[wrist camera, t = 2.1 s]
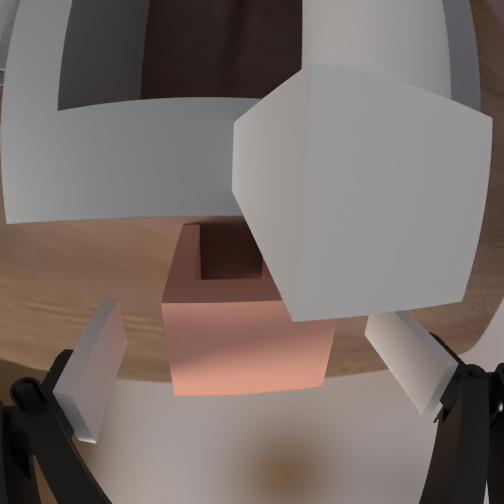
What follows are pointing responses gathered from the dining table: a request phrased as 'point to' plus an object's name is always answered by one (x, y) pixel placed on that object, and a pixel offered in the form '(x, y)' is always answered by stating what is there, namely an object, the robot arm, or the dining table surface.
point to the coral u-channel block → (236, 332)
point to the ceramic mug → (6, 31)
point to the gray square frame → (268, 146)
